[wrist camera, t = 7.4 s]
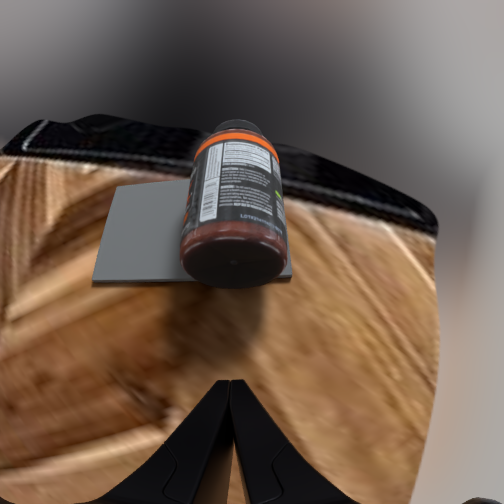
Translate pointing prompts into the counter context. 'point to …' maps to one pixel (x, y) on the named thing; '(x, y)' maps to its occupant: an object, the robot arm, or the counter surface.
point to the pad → (147, 235)
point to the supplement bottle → (234, 211)
